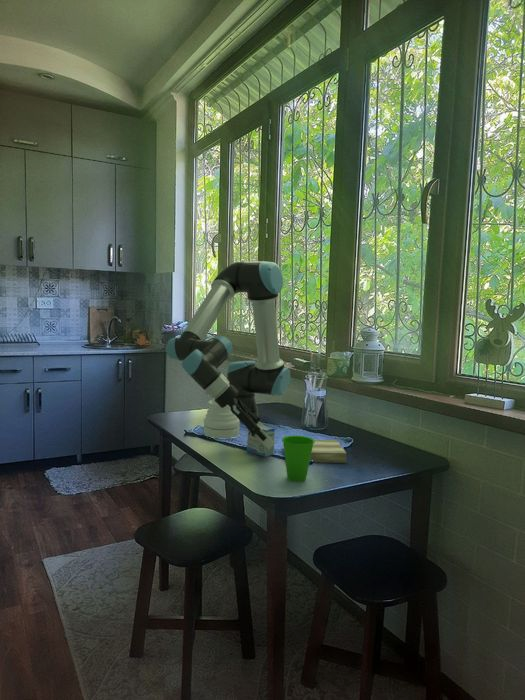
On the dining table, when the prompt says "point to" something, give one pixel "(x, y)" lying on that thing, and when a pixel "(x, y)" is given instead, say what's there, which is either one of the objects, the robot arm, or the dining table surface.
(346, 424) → the dining table surface
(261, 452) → the medicine box
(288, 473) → the cup
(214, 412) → the honey pot
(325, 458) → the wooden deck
